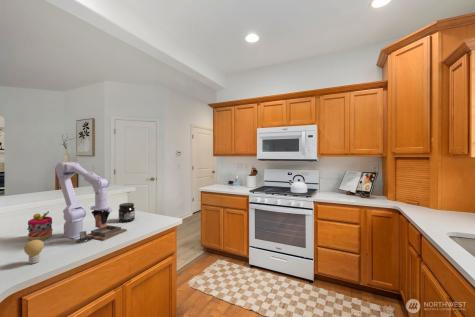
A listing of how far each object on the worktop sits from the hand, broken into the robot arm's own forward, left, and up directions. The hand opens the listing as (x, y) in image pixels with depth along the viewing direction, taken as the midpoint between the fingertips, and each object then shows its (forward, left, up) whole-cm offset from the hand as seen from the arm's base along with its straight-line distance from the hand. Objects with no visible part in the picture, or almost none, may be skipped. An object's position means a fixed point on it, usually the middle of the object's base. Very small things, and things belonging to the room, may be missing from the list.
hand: (101, 223), depth 123 cm
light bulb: (-3, -30, -9) cm, 31 cm away
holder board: (-3, +6, -9) cm, 11 cm away
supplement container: (-12, +30, -9) cm, 34 cm away
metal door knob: (-6, -6, -9) cm, 12 cm away
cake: (-34, -11, -9) cm, 37 cm away
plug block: (0, 0, -2) cm, 2 cm away
